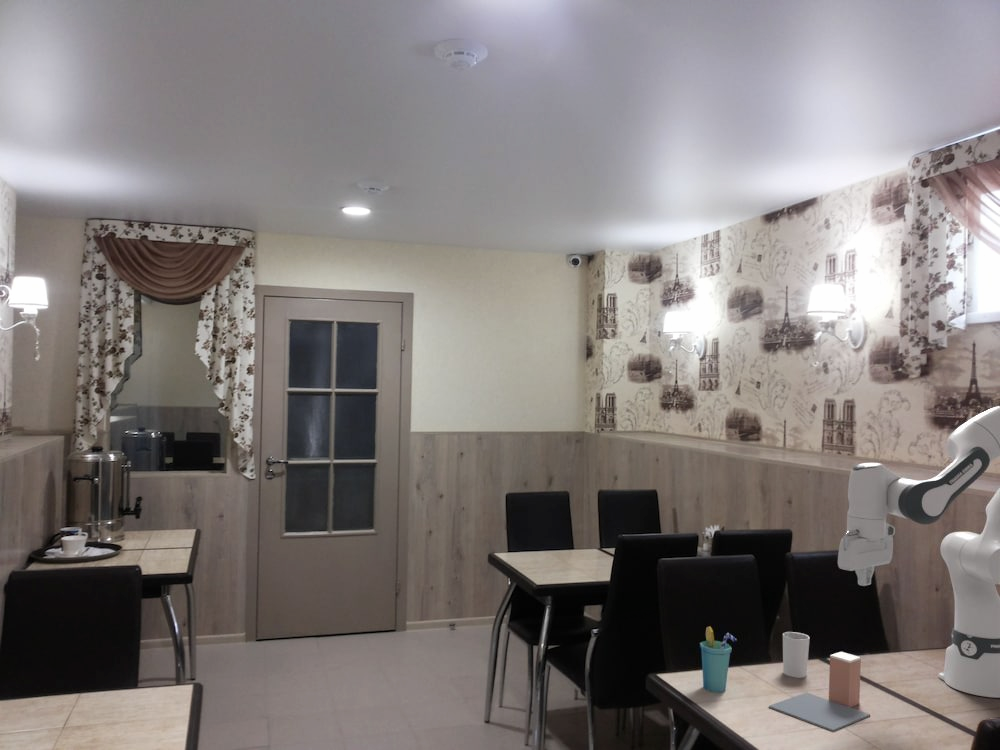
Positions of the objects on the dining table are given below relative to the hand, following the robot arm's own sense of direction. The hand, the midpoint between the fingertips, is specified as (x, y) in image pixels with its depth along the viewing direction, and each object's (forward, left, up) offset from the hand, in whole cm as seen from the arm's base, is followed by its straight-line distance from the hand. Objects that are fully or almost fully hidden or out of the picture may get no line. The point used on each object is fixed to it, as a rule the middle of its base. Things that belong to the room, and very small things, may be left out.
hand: (864, 584), depth 201 cm
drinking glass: (0, -18, -27) cm, 33 cm away
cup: (+28, -22, -27) cm, 45 cm away
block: (+8, 0, -27) cm, 28 cm away
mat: (+19, 0, -27) cm, 33 cm away
